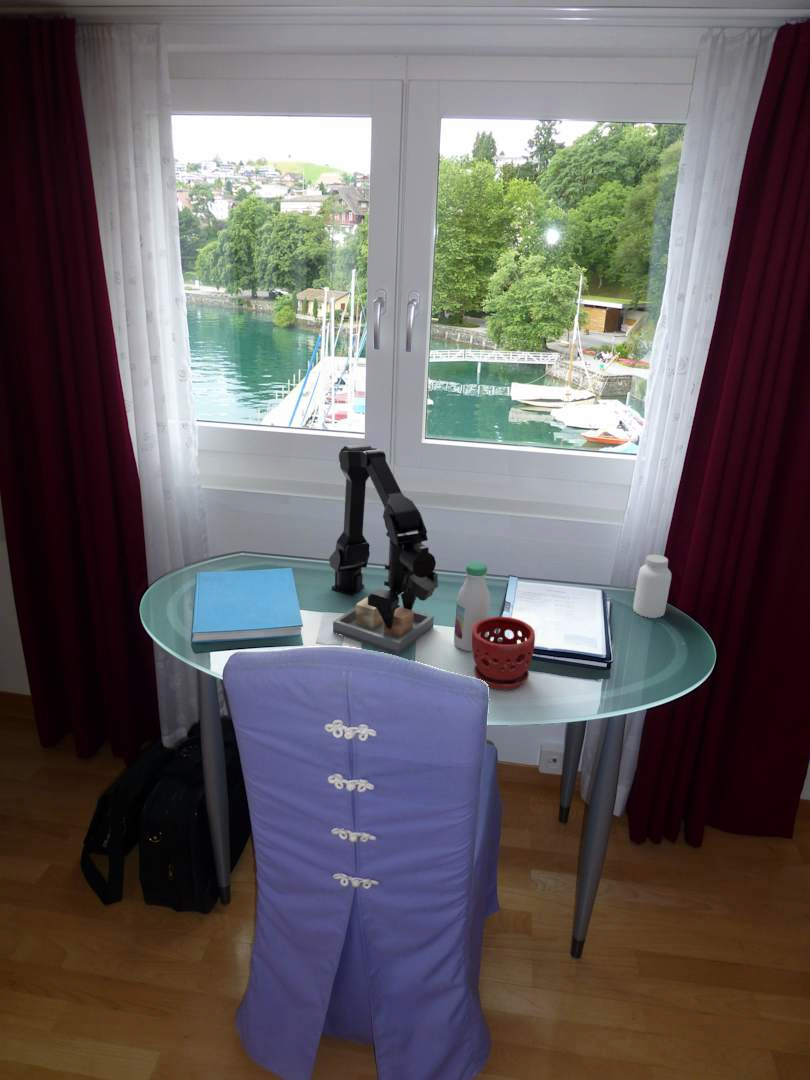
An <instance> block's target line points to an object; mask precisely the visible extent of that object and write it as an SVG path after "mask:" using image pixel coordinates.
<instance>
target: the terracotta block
mask: <svg viewBox="0 0 810 1080" xmlns="http://www.w3.org/2000/svg"><path fill="white" fill-rule="evenodd" d="M412 610H413V609H412ZM412 610H409V609H406V608H403V606H401V607H399V608H397V609H396V610H395V612H394V619H393V624H392V628H391V629H388V628H387V627H386V625H385V623H384V633H387V634H390V635H393V636H396V637H399V638H401V637H402V636H404V635H405V634H406V633H408V632H409V631H410V630H412V629H413V619H414V611H415V610H414V611H412Z"/></svg>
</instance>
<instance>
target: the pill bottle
mask: <svg viewBox="0 0 810 1080" xmlns="http://www.w3.org/2000/svg"><path fill="white" fill-rule="evenodd" d="M668 565H669V559H668V558H667V557H666V556H664V555H661V554H649V555H647V556H646V557H645V564H643V565H642V566H640V568H639V570H638V574H637V580H636V587H635V592H634V598H633V604H632V605H633V606H632V609H633V611H634V612H636V613H635V614H637V615H638V614H639V615H638V616H641V617H643V616H644V618H647V617H648V618H649V619H658V618H657V617H659V618H662V617H663V616H664V615H665V612H666V607H667V602H668V598H669V591H670V587H671V581H672V572H671V570H670V568H668V567H669V566H668ZM661 616H662V617H661Z"/></svg>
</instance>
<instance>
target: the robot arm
mask: <svg viewBox="0 0 810 1080" xmlns="http://www.w3.org/2000/svg"><path fill="white" fill-rule="evenodd" d="M338 460H339V461H338V462H339V467H340V470H341V472H342V474H343V475H344V477H345V479H346V480H345V498H344V513H343V514H344V515H343V516H344V517H343V518H344V519H343V531H342V533H341V535H340V536H339V538H337V540H336V546H335V550H334V551H333V553H331V555H330V556H329V566H330V567H331V568H332V569H333V571H334V585H331V587H330V588H332V589H331V590H333V589H334V591H337V592H340V593H342V594H346V595H349V596H352V595H354V594H356V593H357V592H358V591H360V590H362V589H364V588H365V584H363V579H364V578H363V573H362V568H363V569H364V568H367V565H368V562H369V558H370V547H371V545H370V543H369V542H368V541H367V539H366V538H365V536H364V518H365V503H366V487H367V486H366V485H367V481H368V480H369V478H370V480H371V482H372V484H373V486H374V488H375V490H376V491H377V492H376V493H377V494H378V496H379V499H380V501H381V502H382V505H383V508H384V510H383V514H382V518H383V520H384V526H385V528H386V530H387V532H386V533H385V535H386V537H388V538H389V545H388V546H389V547H388V549H389V550H388V552H389V553H388V562H387V563H386V564H384V569H385V570H387V571H388V572H387V573H388V575H387V576H388V577H387V579H385V580H384V583H383V586H386V587H388V588H389V590H386V589H384V588H378V589H375V591H373V592H371V593H370V594H369V595H368V596H367V597H368V605H370V606H373V607H376V608H377V610H378V611H379V613H380V615H381V617H382V619H383V621H384V623H385V625H386V627H387V628H388V629H391V628H392V624H393V619H394V612H395V610H396V609H397V608H399V607H400V606H401V605H400V604H399V603H400V597H399V596H401V600H402V601H401V602H402V607H403V608H406V609H409V610H413V608H414V605H415V602H416V599H419V601H422V602H423V601H426V600H428V598H429V597H432V596H433V594H434V592H435V589H437V588H438V587H439V584H438V583H439V581H438V575H439V574H438V573H437V572H435V571H434V570H435V568H436V564H437V561H436V559H435V556H434V555H433V554H432V553H430V552H429V551H430V550H429V547H428V546H427V545H424V544H423V542H427V541H428V536H427V533H428V531H427V528H426V525H425V522H424V520H423V518H422V514H421V512H420V511H419V509H418V507H417V506H416V505H415V503H414V502H413V500H411V499H410V498H408V497H407V496H405V495H404V494H403V492H402V491H401V488H400V486H399V484H398V482H397V480H396V478H395V476H394V474H393V472H392V470H391V468H390V467H389V466H390V465H389V464H388V462H387V456H386V453H385V452H384V450H382V449H380V448H377V447H376V448H375V447H372V446H371V444H368V443H363V444H353V445H351V444H350V445H345V446H343V447H342V448H340V451H339V453H338ZM415 532H417V533H415ZM408 533H410V534H408Z"/></svg>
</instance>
